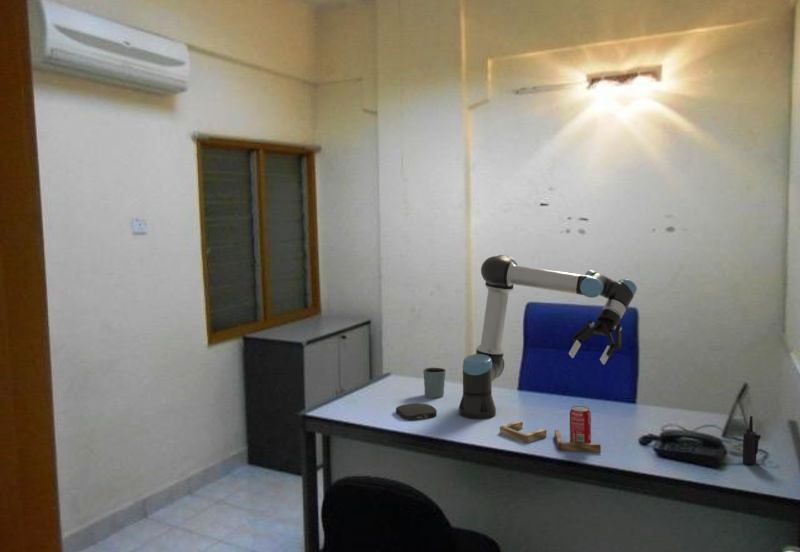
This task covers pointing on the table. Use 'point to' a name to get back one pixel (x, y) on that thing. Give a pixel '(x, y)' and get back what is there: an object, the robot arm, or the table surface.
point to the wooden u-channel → (511, 432)
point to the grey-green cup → (434, 382)
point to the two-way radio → (750, 444)
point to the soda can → (580, 424)
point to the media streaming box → (416, 411)
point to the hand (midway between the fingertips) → (586, 359)
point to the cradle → (576, 445)
